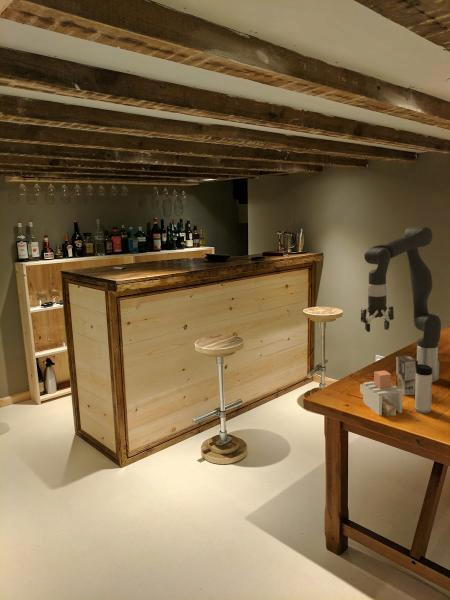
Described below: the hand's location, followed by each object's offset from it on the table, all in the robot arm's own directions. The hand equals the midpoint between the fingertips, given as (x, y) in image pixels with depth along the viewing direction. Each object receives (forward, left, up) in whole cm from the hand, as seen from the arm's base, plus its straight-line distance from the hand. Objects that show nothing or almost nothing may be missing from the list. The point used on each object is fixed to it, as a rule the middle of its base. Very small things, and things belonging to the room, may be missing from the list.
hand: (377, 330), depth 197 cm
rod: (+2, +4, -32) cm, 33 cm away
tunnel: (+2, +8, -32) cm, 33 cm away
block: (+2, +8, -23) cm, 24 cm away
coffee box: (-17, -4, -32) cm, 37 cm away
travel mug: (-12, +16, -32) cm, 38 cm away
